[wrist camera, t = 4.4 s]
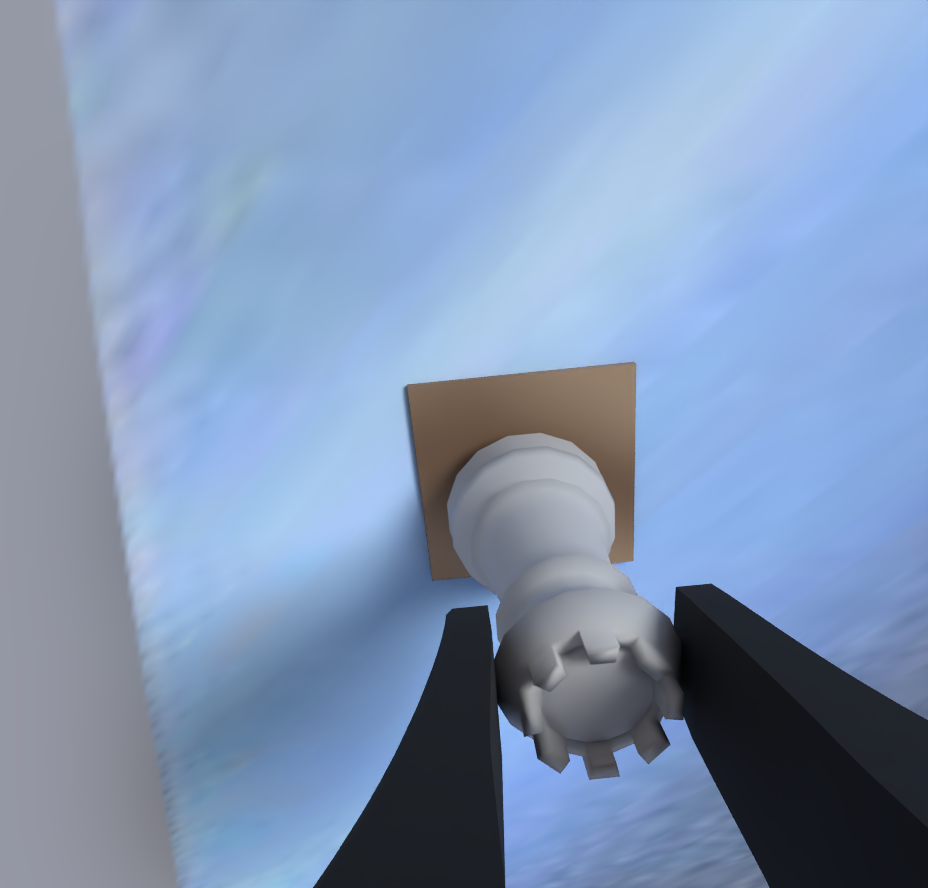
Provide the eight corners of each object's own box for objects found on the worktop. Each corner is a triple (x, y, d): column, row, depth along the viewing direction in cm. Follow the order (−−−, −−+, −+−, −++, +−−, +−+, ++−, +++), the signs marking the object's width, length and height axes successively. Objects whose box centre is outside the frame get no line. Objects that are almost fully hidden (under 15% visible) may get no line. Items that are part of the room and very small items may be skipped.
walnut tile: (627, 550, 18) (633, 561, 18) (432, 569, 18) (432, 580, 18) (629, 358, 16) (636, 363, 15) (408, 380, 16) (406, 386, 15)
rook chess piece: (589, 578, 17) (709, 830, 10) (438, 567, 17) (443, 820, 10) (617, 435, 16) (782, 599, 9) (455, 419, 16) (476, 576, 8)
